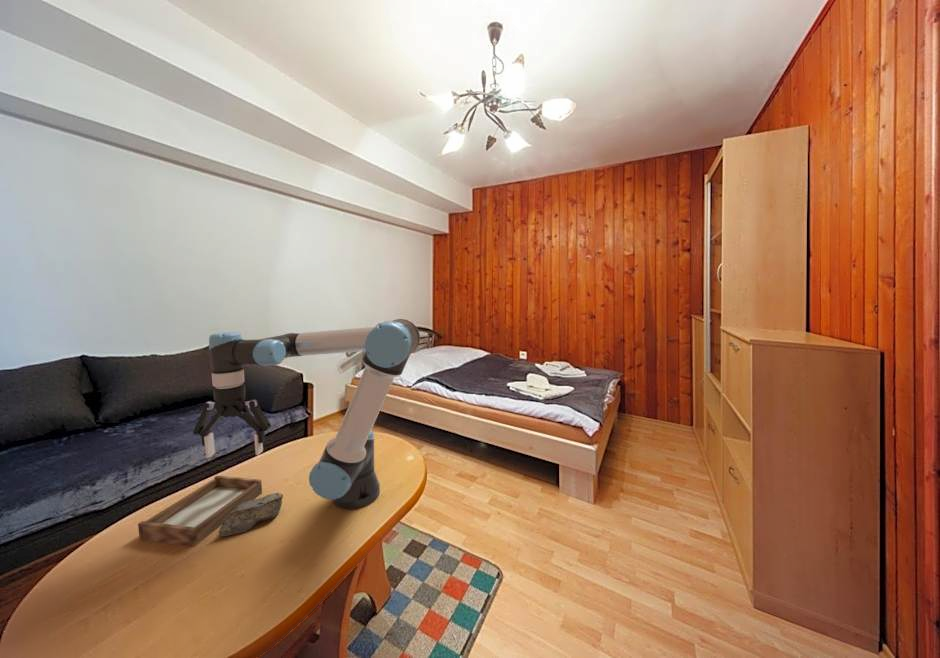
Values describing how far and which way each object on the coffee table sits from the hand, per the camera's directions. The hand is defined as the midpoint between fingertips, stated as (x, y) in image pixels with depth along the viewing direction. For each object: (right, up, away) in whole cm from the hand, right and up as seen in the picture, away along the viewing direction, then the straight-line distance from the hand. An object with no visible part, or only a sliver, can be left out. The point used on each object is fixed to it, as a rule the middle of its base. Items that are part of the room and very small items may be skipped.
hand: (235, 454), depth 96 cm
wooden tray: (-11, -20, +3) cm, 23 cm away
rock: (+5, -21, 0) cm, 21 cm away
